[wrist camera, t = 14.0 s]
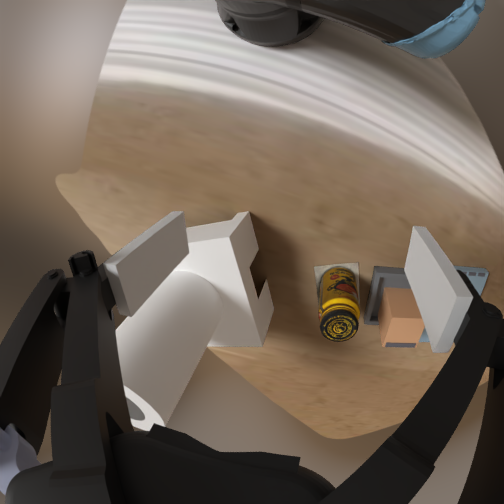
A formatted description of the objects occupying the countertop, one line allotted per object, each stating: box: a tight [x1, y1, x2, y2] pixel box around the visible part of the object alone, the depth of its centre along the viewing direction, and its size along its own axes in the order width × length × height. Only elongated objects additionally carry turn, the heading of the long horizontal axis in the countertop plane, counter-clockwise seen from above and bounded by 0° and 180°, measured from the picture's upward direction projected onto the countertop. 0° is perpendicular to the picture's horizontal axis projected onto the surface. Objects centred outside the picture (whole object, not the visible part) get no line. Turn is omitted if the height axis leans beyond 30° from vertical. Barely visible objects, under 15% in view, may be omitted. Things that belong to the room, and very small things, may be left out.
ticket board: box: [419, 266, 489, 342], centre depth 41 cm, size 16×10×2 cm, turn 2°
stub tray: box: [364, 266, 411, 325], centre depth 43 cm, size 11×11×2 cm
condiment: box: [314, 263, 360, 342], centre depth 41 cm, size 7×8×12 cm
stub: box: [378, 287, 425, 348], centre depth 41 cm, size 6×6×8 cm
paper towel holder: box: [115, 211, 274, 431], centre depth 38 cm, size 19×19×30 cm
